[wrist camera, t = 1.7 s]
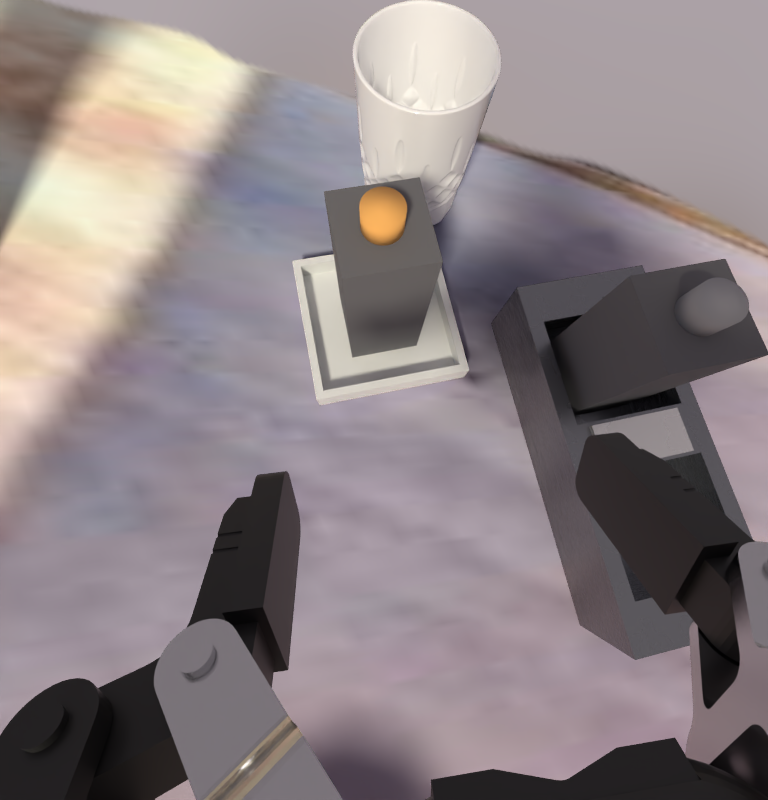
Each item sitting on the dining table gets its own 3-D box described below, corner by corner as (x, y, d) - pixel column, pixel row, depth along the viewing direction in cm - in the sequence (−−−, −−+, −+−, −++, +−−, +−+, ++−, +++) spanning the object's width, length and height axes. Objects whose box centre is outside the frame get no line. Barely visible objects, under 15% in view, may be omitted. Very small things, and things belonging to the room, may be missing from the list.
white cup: (480, 197, 30) (532, 58, 21) (409, 259, 29) (429, 140, 19) (408, 136, 31) (425, -23, 22) (337, 192, 30) (321, 48, 20)
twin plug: (553, 420, 25) (692, 365, 14) (533, 356, 26) (649, 259, 15) (617, 406, 26) (801, 343, 15) (595, 344, 27) (751, 241, 16)
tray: (319, 405, 26) (316, 399, 24) (296, 273, 28) (292, 260, 27) (463, 377, 27) (469, 370, 25) (429, 251, 29) (433, 237, 27)
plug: (352, 357, 26) (340, 262, 16) (340, 298, 27) (320, 170, 16) (416, 345, 27) (448, 244, 16) (402, 287, 28) (423, 155, 17)
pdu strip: (580, 625, 23) (639, 662, 18) (491, 323, 28) (518, 284, 23) (701, 594, 24) (791, 621, 19) (595, 304, 28) (645, 262, 23)
